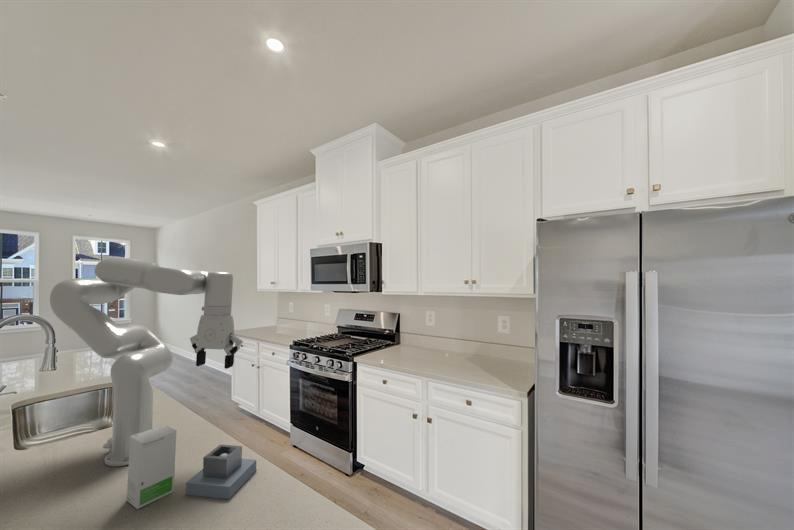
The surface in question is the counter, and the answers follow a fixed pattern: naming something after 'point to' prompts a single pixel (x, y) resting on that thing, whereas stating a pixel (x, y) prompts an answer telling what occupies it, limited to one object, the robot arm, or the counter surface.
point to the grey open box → (222, 461)
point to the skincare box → (151, 465)
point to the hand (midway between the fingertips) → (214, 366)
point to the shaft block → (221, 482)
